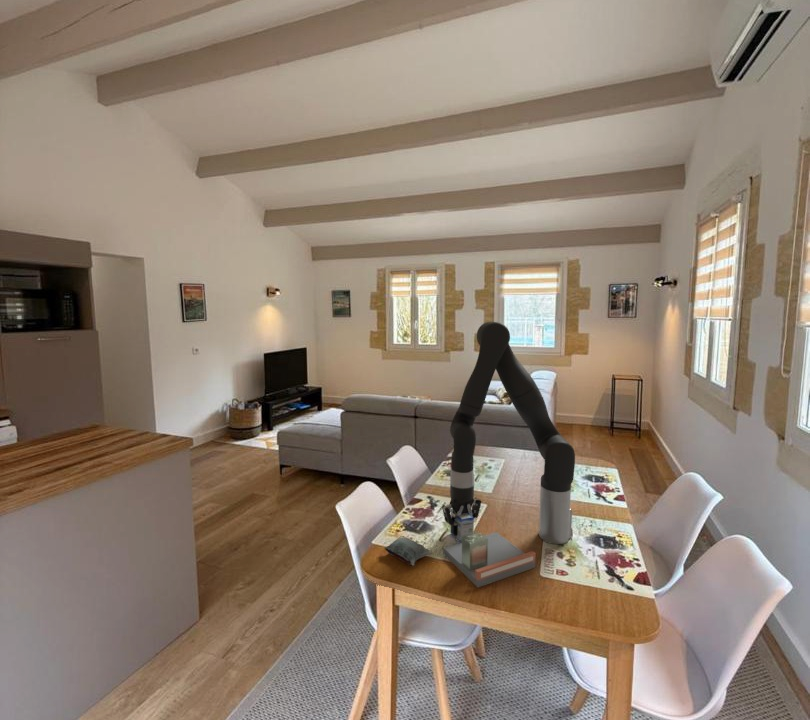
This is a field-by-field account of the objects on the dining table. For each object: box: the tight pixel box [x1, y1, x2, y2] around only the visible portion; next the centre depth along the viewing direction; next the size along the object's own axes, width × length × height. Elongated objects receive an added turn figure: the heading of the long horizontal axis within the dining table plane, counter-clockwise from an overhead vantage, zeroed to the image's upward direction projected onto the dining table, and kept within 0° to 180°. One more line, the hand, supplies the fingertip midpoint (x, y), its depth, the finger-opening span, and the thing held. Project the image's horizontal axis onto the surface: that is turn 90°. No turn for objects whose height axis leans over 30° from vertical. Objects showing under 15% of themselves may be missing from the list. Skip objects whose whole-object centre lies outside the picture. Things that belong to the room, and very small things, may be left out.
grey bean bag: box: [384, 535, 433, 567], centre depth 132 cm, size 9×12×5 cm
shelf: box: [442, 531, 536, 588], centre depth 129 cm, size 20×18×4 cm
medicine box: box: [449, 508, 475, 543], centre depth 142 cm, size 8×4×9 cm, turn 21°
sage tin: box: [462, 531, 488, 571], centre depth 124 cm, size 6×4×8 cm
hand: (461, 532), depth 142 cm, fingers closed on medicine box, 4 cm apart
